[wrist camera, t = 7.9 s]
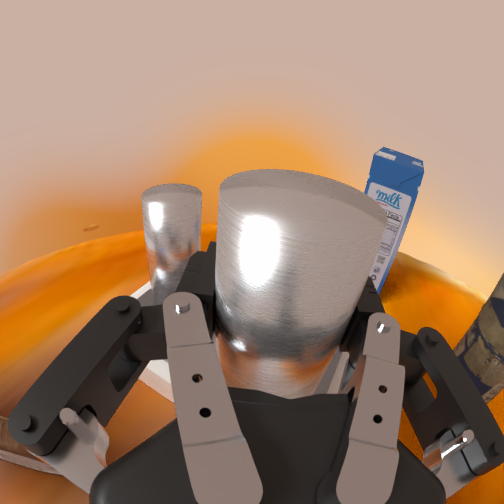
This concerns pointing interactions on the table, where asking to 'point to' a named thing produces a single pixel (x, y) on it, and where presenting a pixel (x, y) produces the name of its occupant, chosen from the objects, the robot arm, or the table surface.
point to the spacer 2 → (288, 275)
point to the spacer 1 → (170, 234)
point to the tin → (20, 452)
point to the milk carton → (392, 203)
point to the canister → (486, 346)
